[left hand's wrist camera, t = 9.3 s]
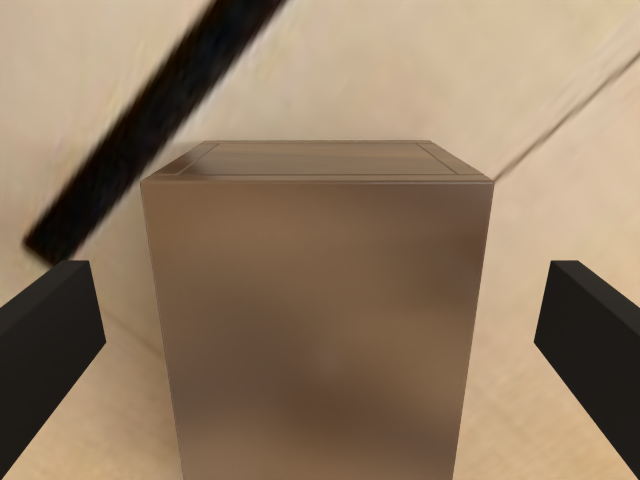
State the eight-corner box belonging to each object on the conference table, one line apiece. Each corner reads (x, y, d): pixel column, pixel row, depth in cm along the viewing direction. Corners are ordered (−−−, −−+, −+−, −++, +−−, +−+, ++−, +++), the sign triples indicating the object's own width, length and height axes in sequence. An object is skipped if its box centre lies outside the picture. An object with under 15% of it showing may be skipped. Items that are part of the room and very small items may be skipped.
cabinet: (404, 442, 29) (437, 585, 21) (232, 442, 29) (199, 587, 21) (430, 140, 22) (496, 180, 14) (204, 140, 22) (138, 181, 14)
